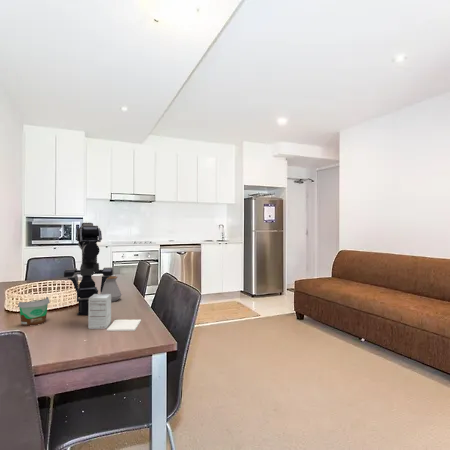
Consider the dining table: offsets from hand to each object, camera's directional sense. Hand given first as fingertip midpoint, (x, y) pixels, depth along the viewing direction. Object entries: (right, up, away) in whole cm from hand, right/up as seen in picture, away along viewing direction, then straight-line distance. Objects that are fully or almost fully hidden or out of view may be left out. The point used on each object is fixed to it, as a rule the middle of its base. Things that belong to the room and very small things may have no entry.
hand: (89, 292), depth 135 cm
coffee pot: (-8, -13, +46) cm, 49 cm away
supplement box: (+5, -14, -2) cm, 15 cm away
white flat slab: (+15, -14, -1) cm, 20 cm away
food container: (-22, -13, 0) cm, 26 cm away
